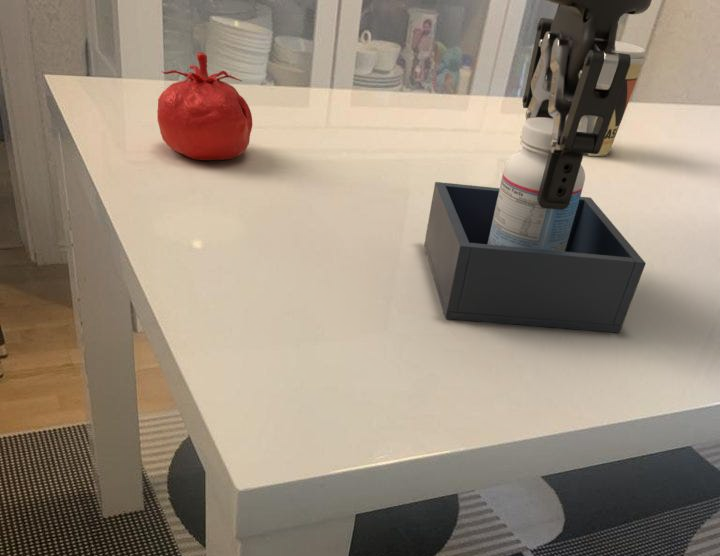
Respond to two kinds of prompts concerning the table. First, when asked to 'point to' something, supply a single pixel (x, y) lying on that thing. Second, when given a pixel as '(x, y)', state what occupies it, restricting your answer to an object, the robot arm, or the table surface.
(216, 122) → the red tomato
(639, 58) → the coffee cup
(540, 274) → the dark grey open box
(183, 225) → the table surface
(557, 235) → the pill bottle
